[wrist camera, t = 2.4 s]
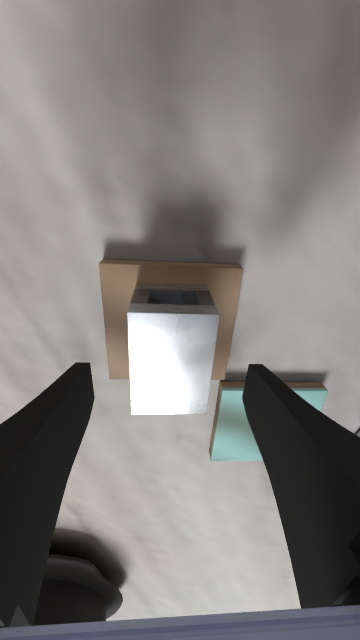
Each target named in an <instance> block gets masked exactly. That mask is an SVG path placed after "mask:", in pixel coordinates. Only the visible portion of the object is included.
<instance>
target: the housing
mask: <svg viewBox="0 0 360 640" xmlns="http://www.w3.org/2000/svg"><path fill="white" fill-rule="evenodd" d="M219 316H220V315H219V312H218V310H217V308H216V306H215V303H214V301H213V299H212V296H211V294H210V292H209V289H208V287H207V285H202V284H172V283H142V282H137V283H136V286H135V289H134V292H133V295H132V299H131V302H130V305H129V308H128V312H127V320H128V341H129V363H130V385H131V407H132V414H206V411H207V403H208V396H209V389H210V381H211V374H212V367H213V359H214V352H215V345H216V338H217V330H218V323H219Z"/></svg>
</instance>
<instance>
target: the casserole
mask: <svg viewBox="0 0 360 640" xmlns="http://www.w3.org/2000/svg"><path fill="white" fill-rule="evenodd" d="M122 602H123V598H122V594H121V593H120V591H119V590H118V589H117V588H116V587H115V586H114V585H113V584H111V583H110V582H109V581H108V580H106V579H105V578H104V577H103V576H102V574H101V573H100V572H99V570H98V569H97V568H96V566H95V565H94V564H92V563H91V562H89V561H87V560H85V559H81V558H77V557H72V556H65V555H57V554H49V555H48V559H47V563H46V567H45V572H44V576H43V581H42V586H41V590H40V595H39V600H38V604H37V609H36V614H35V619H34V623H33V626H39V625H54V624H70V623H86V622H101V621H106V619H107V618H109V617H110V616H112V615H113V614H115V613H116V611H117V610H118V609H119V608H120V606H121V604H122Z"/></svg>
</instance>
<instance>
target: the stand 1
mask: <svg viewBox="0 0 360 640" xmlns="http://www.w3.org/2000/svg"><path fill="white" fill-rule="evenodd" d="M99 269H100V280H101V291H102V301H103V312H104V323H105V334H106V345H107V356H108V366H109V377H110V379H130V363H129V341H128V320H127V312H128V308H129V305H130V302H131V299H132V295H133V292H134V289H135V286H136V283H137V282H142V283H172V284H202V285H207V287H208V289H209V292H210V294H211V296H212V299H213V301H214V303H215V306H216V308H217V310H218V312H219V315H220V316H219V323H218V330H217V338H216V345H215V352H214V359H213V367H212V374H211V380H225V374H226V368H227V362H228V356H229V350H230V345H231V339H232V333H233V327H234V321H235V315H236V309H237V303H238V297H239V291H240V285H241V279H242V273H243V268H242V267H241V266H240V265H239V264H217V263H191V262H166V261H140V260H115V259H103V260H102V261H101V262H100V263H99Z"/></svg>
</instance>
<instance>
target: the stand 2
mask: <svg viewBox="0 0 360 640" xmlns="http://www.w3.org/2000/svg"><path fill="white" fill-rule="evenodd" d="M284 383H285V384H286V385H287V386H288V387H289V388H291V389H292V390H293V391H294V392H296V393H297V394H298V395H299V396H300V397H302V398H303V399H304V400H306V401H307V402H308V403H309V404H311V405H312V406H313V407H315V408H316V409H317V410H319V411H320V410H321V407H322V405H323V402H324V400H325V398H326V395H327V393H328V390H327V389H326V388H325V387H324V385H323V384H322V383H321V382H284ZM244 386H245V382H232V381H220V385H219V392H218V398H217V404H216V410H215V417H214V423H213V429H212V436H211V442H210V448H209V453H210V459H211V461H250V460H263V458H262V456H261V453H260V451H259V448H258V446H257V443H256V440H255V438H254V435H253V433H252V430H251V428H250V425H249V422H248V420H247V416H246V413H245V409H244V404H243V400H242V395H243V390H244Z"/></svg>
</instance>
